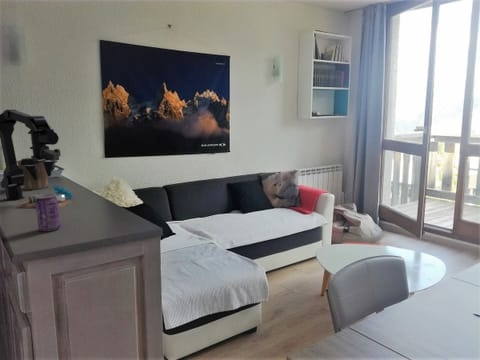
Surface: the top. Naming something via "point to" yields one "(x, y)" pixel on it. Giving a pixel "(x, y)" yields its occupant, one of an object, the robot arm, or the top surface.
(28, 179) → the plant pot
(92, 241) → the top surface
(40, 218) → the beverage can
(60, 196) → the ball knob lever
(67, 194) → the gear
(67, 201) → the peg rack
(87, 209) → the top surface
